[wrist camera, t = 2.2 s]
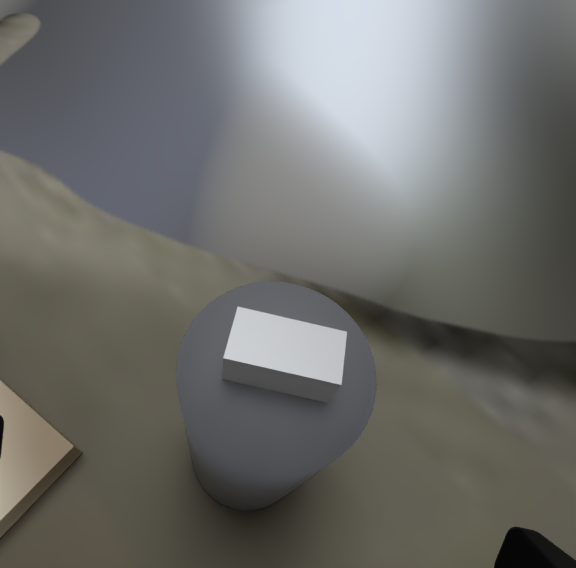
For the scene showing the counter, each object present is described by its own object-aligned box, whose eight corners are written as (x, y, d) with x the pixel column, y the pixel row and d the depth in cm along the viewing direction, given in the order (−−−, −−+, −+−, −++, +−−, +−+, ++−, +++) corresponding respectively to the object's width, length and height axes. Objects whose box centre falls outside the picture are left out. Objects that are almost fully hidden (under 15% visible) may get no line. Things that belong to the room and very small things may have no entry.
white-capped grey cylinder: (294, 522, 16) (392, 490, 7) (176, 496, 16) (135, 434, 7) (311, 404, 18) (398, 279, 10) (209, 381, 18) (209, 234, 10)
